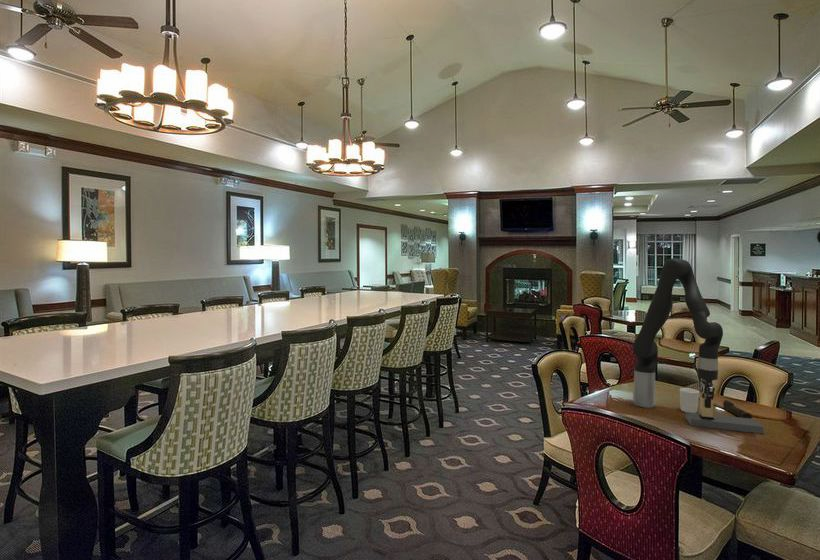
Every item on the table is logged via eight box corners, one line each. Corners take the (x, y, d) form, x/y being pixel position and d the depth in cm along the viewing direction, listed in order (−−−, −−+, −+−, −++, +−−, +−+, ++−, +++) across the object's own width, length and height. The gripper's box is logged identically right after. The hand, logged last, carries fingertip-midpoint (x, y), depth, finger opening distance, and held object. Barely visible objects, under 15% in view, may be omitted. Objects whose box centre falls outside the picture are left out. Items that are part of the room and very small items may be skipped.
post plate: (690, 425, 194) (691, 419, 194) (685, 418, 204) (685, 411, 203) (763, 433, 185) (763, 426, 185) (754, 425, 195) (754, 419, 194)
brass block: (701, 416, 195) (702, 398, 195) (699, 413, 199) (700, 395, 199) (712, 417, 194) (713, 399, 194) (709, 414, 198) (710, 396, 197)
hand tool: (752, 422, 200) (752, 411, 200) (742, 421, 201) (742, 411, 200) (730, 408, 219) (730, 399, 218) (721, 408, 219) (721, 399, 219)
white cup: (700, 410, 215) (700, 390, 214) (696, 414, 209) (697, 393, 208) (681, 407, 220) (681, 387, 220) (677, 410, 214) (677, 390, 214)
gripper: (693, 363, 203) (692, 400, 204) (702, 370, 190) (700, 410, 191) (713, 365, 201) (711, 402, 202) (722, 372, 188) (721, 412, 188)
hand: (706, 406), depth 196 cm, fingers closed on brass block, 4 cm apart
